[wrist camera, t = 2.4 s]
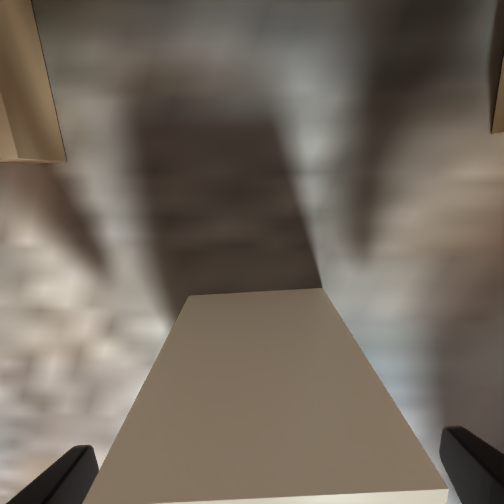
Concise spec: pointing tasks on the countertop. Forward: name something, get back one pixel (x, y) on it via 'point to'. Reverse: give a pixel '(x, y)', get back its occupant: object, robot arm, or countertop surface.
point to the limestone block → (264, 414)
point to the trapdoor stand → (40, 97)
